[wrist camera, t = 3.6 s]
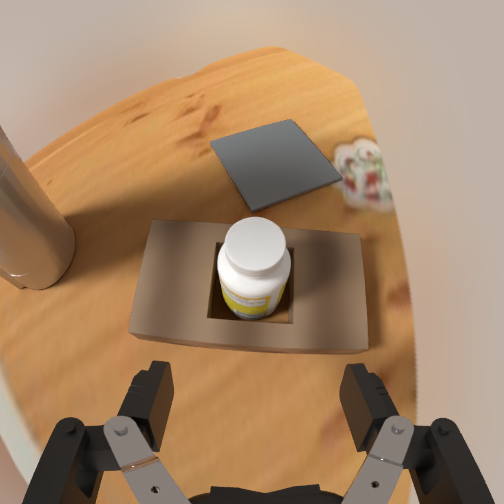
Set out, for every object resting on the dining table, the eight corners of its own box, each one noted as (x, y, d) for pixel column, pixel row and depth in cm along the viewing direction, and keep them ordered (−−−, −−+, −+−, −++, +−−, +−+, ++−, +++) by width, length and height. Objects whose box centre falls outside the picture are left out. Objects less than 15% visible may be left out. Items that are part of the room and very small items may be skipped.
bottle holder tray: (350, 248, 31) (359, 234, 28) (355, 354, 26) (368, 348, 23) (159, 234, 31) (152, 219, 28) (139, 338, 26) (128, 331, 23)
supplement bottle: (259, 257, 30) (267, 195, 21) (292, 301, 28) (315, 253, 19) (211, 285, 28) (199, 231, 20) (243, 332, 26) (244, 297, 18)
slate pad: (252, 213, 32) (252, 210, 32) (210, 144, 37) (210, 141, 37) (340, 180, 35) (341, 177, 35) (290, 121, 40) (290, 118, 39)
